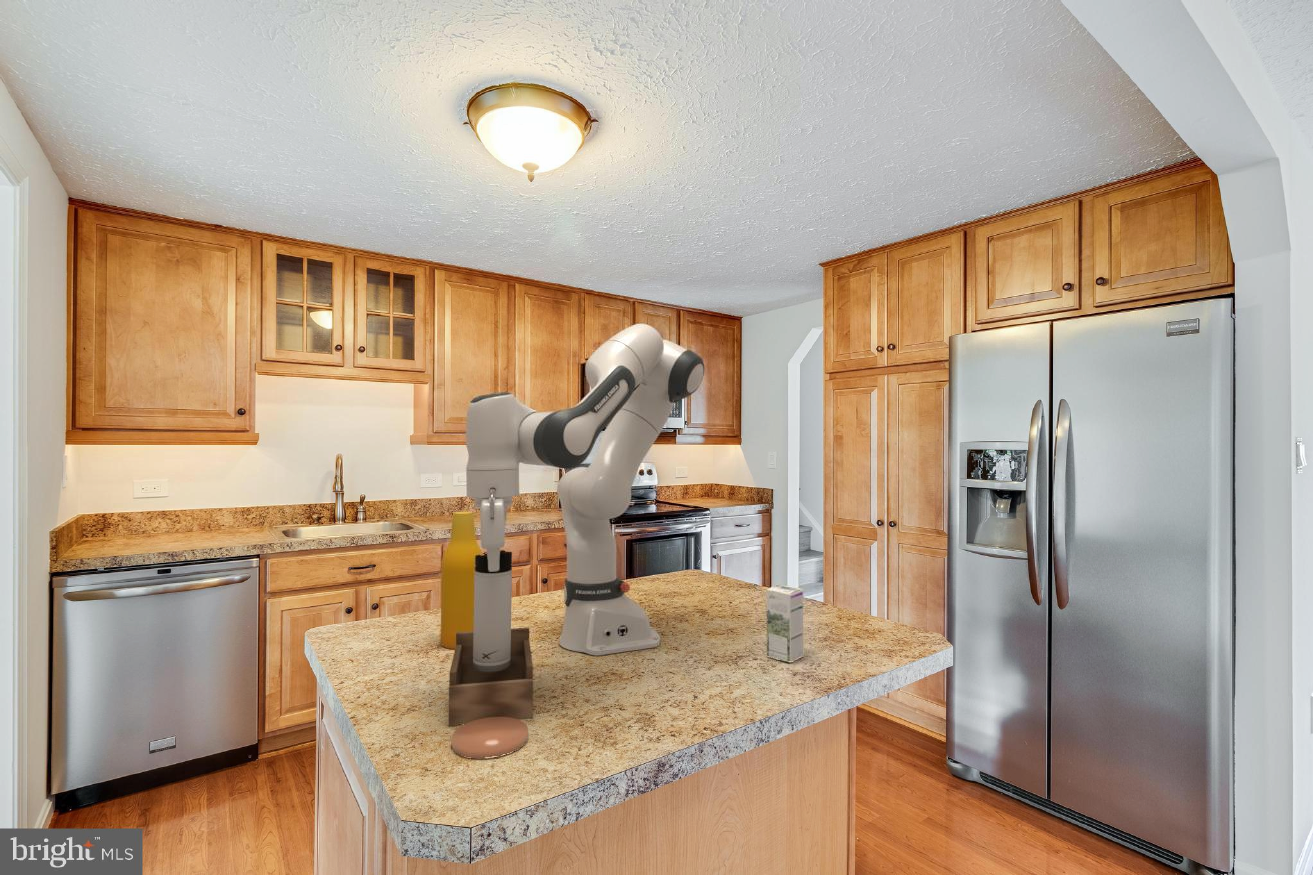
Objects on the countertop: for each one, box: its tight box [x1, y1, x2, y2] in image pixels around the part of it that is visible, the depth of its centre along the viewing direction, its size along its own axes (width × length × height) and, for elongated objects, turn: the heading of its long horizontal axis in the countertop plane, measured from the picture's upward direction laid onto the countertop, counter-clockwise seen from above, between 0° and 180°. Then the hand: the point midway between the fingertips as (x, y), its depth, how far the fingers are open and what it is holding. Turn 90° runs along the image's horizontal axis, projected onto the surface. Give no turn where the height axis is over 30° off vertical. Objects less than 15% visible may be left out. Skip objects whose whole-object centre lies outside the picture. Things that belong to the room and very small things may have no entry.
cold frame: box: [448, 627, 534, 727], centre depth 107 cm, size 13×16×10 cm
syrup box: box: [766, 584, 804, 661], centre depth 130 cm, size 6×6×14 cm
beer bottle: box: [439, 511, 483, 650], centre depth 139 cm, size 9×9×29 cm
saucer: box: [451, 717, 529, 758], centre depth 93 cm, size 11×11×1 cm
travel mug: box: [473, 551, 513, 673], centre depth 108 cm, size 6×7×20 cm
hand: (494, 566), depth 108 cm, fingers closed on travel mug, 6 cm apart
